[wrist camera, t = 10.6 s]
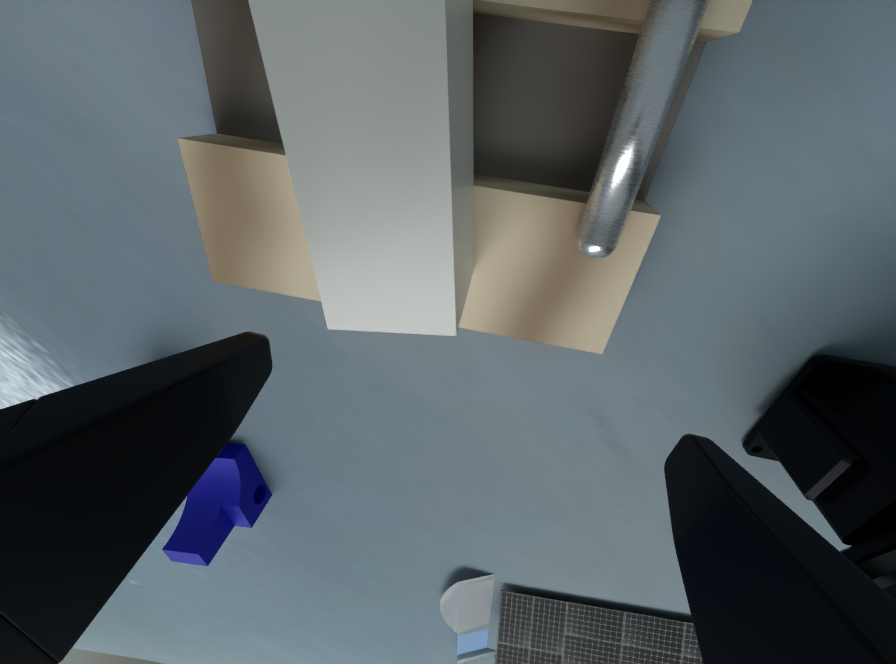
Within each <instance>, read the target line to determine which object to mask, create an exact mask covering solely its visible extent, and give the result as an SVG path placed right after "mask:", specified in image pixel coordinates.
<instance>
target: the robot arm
mask: <svg viewBox="0 0 896 664" xmlns="http://www.w3.org/2000/svg"><path fill="white" fill-rule="evenodd" d="M823 365H825V366H824V367H821V366H823ZM820 367H821V368H820ZM271 371H272V358H271V350H270V343H269V339H268V337H267V336H265V335H263V334H259V333H254V332H244V333H241V334H238V335H235V336H232V337H228V338H225V339H222V340H219V341H216V342H213V343H209V344H206V345H203V346H200V347H197V348H194V349H190V350H187V351H184V352H181V353H178V354H175V355H171V356H168V357H165V358H162V359H159V360H156V361H152V362H149V363H146V364H143V365H140V366H137V367H133V368H130V369H127V370H124V371H121V372H118V373H115V374H111V375H108V376H105V377H102V378H99V379H96V380H92V381H89V382H86V383H83V384H80V385H77V386H73V387H70V388H67V389H64V390H61V391H58V392H54V393H51V394H48V395H45V396H42V397H40V398H38V400H36V399H32V400H29V401H26V402H22V403H19V404H16V405H13V406H10V407H7V408H4V409H0V664H58V663H60V662H61V661H62V660H63V659H64V657H65V656H66V655H67V653H68V652H69V651H70V649H71V648H72V647H73V646H74V644H75V643H76V642H77V640H78V639H79V638H80V636H81V635H82V634H83V632H84V631H85V630H86V628H87V627H88V626H89V624H90V623H91V622H92V620H93V619H94V618H95V617H96V615H97V614H98V613H99V611H100V610H101V609H102V607H103V606H104V605H105V603H106V602H107V601H108V599H109V598H110V597H111V595H112V594H113V593H114V591H115V590H116V589H117V588H118V586H119V585H120V584H121V582H122V581H123V580H124V578H125V577H126V576H127V574H128V573H129V572H130V570H131V569H132V568H133V566H134V565H135V564H136V562H137V561H138V560H139V558H140V557H141V556H142V555H143V553H144V552H145V551H146V549H147V548H148V547H149V545H150V544H151V543H152V541H153V540H154V539H155V537H156V536H157V535H158V533H159V532H160V531H161V529H162V528H163V527H164V526H165V524H166V523H167V522H168V520H169V519H170V518H171V516H172V515H173V514H174V512H175V511H176V510H177V508H178V507H179V506H180V504H181V503H182V502H183V500H184V499H185V498H186V497H187V495H188V494H189V493H190V491H191V490H192V489H193V487H194V486H195V485H196V483H197V482H198V481H199V479H200V478H201V477H202V475H203V474H204V473H205V471H206V470H207V469H208V467H209V466H210V465H211V464H212V462H213V461H214V460H215V458H216V457H217V456H218V454H219V453H220V452H221V450H222V449H223V448H224V446H225V445H226V444H227V442H228V441H229V440H230V438H231V437H232V436H233V434H234V433H235V431H236V430H237V428H238V427H239V425H240V424H241V422H242V421H243V419H244V417H245V416H246V414H247V412H248V411H249V409H250V407H251V406H252V404H253V402H254V401H255V399H256V397H257V396H258V394H259V392H260V391H261V389H262V387H263V386H264V384H265V382H266V381H267V379H268V377H269V376H270V374H271ZM742 446H743V448H744V450H745V451H746V453H747V454H748V455H751V456H756V457H761V458H766V459H771V460H775V461H779V462H780V463H781V465H782V466H783V467H784V469H785V470H786V472H787V473H788V474H789V476H790V477H791V479H792V480H793V481H794V483H795V484H796V486H797V487H798V489H799V490H800V491H801V493H802V494H803V496H804V497H805V498H806V499H807V500H811V501H813V502H814V504H815V505H816V507H817V508H818V509H819V511H820V512H821V514H822V515H823V516H824V518H825V519H826V520H827V522H828V523H829V525H830V526H831V527H832V529H833V530H834V532H835V533H836V534H837V536H838V537H839V538H840V540H841V541H842V543H844V544H846V545H851V547H849V548H846V549H844V550H842V551H840V552H839V551H838V550H837V549H836V548H835V547H834V546H833V545H831V544H830V543H829V542H828V541H827V540H826V539H824V538H823V537H822V536H821V535H820V534H819V533H818V532H816V531H815V530H814V529H813V528H812V527H811V526H809V525H808V524H807V523H806V522H805V521H804V520H803V519H801V518H800V517H799V516H798V515H797V514H796V513H795V512H793V511H792V510H791V509H790V508H789V507H788V506H786V505H785V504H784V503H783V502H782V501H781V500H780V499H778V498H777V497H776V496H775V495H774V494H773V493H771V492H770V491H769V490H768V489H767V488H766V487H765V486H763V485H762V484H761V483H760V482H759V481H758V480H757V479H755V478H754V477H753V476H752V475H751V474H750V473H748V472H747V471H746V470H745V469H744V468H743V467H742V466H740V465H739V464H738V463H737V462H736V461H735V460H734V459H732V458H731V457H730V456H729V455H728V454H727V453H725V452H724V451H723V450H722V449H721V448H720V447H719V446H717V445H716V444H715V443H714V442H713V441H712V440H710V439H708V438H706V437H702V436H697V435H693V434H686V435H684V436H682V438H681V439H680V440H679V442H678V443H677V445H676V446H675V447H674V449H673V450H672V452H671V453H670V454H669V456H668V457H667V459H666V462H665V466H664V472H665V480H666V487H667V495H668V502H669V510H670V518H671V525H672V533H673V539H674V544H675V549H676V554H677V558H678V562H679V566H680V571H681V575H682V579H683V583H684V587H685V591H686V595H687V599H688V604H689V608H690V612H691V616H692V620H693V624H694V628H695V633H696V637H697V641H698V645H699V649H700V653H701V657H702V662H703V664H896V367H891V366H885V365H880V364H874V363H869V362H863V361H858V360H852V359H847V358H841V357H835V356H830V355H819V356H816V357H814V358H812V359H811V360H810V361H809V362H808V363H807V364H806V365H805V366H804V368H803V369H802V370H801V371H800V373H799V374H798V375H797V376H796V378H795V379H794V380H793V381H792V382H791V384H790V385H789V386H788V387H787V389H786V390H785V391H784V392H783V394H782V395H781V396H780V397H779V399H778V400H777V401H776V402H775V403H774V405H773V406H772V407H771V408H770V410H769V411H768V412H767V413H766V415H765V416H764V417H763V418H762V420H761V421H760V422H759V423H758V424H757V426H756V427H755V428H754V429H753V431H752V432H751V433H750V434H749V436H748V437H747V438H746V439H745V441H744V442H743V444H742Z"/></svg>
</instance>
